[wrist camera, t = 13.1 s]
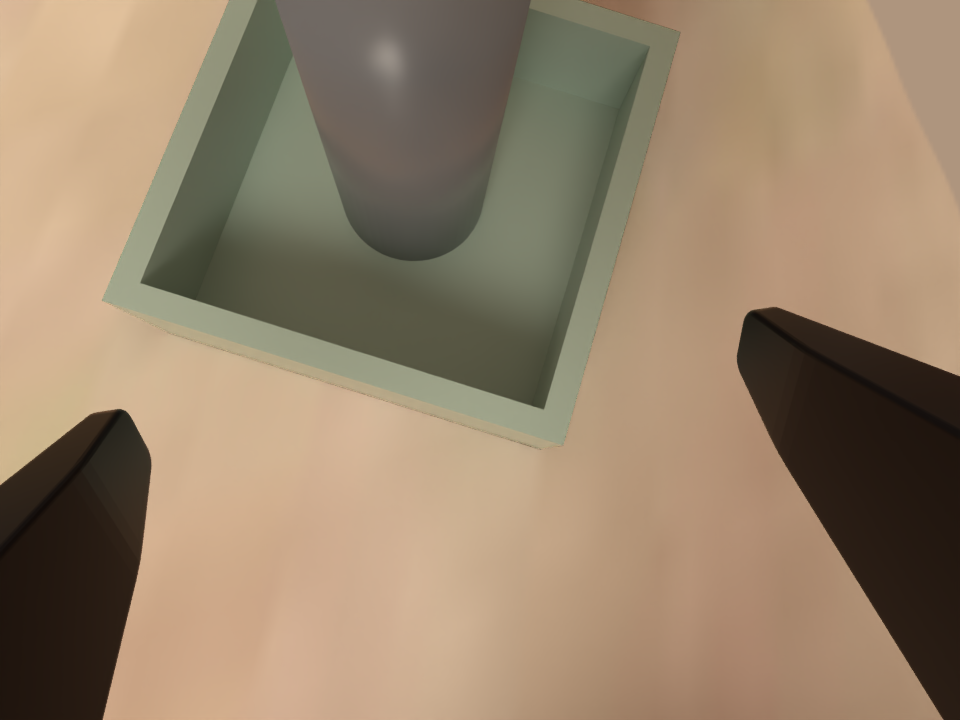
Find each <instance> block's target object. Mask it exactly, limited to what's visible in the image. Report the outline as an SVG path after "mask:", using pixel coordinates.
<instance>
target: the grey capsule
mask: <svg viewBox="0 0 960 720" xmlns="http://www.w3.org/2000/svg"><path fill="white" fill-rule="evenodd" d="M275 2H276V5H277V8H278V11H279V14H280V17H281V20H282V23H283V26H284V29H285V32H286V35H287V38H288V41H289V44H290V47H291V50H292V53H293V56H294V59H295V62H296V66H297V69H298V72H299V75H300V78H301V81H302V84H303V87H304V90H305V93H306V96H307V99H308V102H309V105H310V108H311V111H312V114H313V117H314V120H315V123H316V126H317V129H318V132H319V135H320V138H321V141H322V144H323V147H324V150H325V153H326V156H327V159H328V162H329V165H330V168H331V171H332V174H333V177H334V180H335V183H336V186H337V189H338V192H339V195H340V198H341V201H342V204H343V207H344V210H345V213H346V216H347V218H348V221H349V223H350V225H351V226H352V228H353V229H354V231H355V232H356V233H357V235H358V236H359V237H360V238H361V239H362V240H363V241H364V242H365V243H366V244H367V245H369V246H370V247H371V248H373V249H374V250H376V251H378V252H380V253H381V254H383V255H386V256H389V257H391V258H395V259H399V260H405V261H423V260H430V259H433V258H437V257H440V256H442V255H445V254H447V253H449V252H450V251H452V250H454V249H455V248H457V247H458V246H459V245H460V244H462V243H463V242H464V241H465V240H466V239H467V238H468V237H469V235H470V234H471V232H472V231H473V230H474V228H475V226H476V224H477V223H478V220H479V218H480V215H481V211H482V207H483V203H484V199H485V194H486V190H487V186H488V182H489V177H490V173H491V169H492V164H493V160H494V156H495V152H496V147H497V143H498V139H499V135H500V130H501V126H502V122H503V118H504V113H505V109H506V105H507V100H508V96H509V92H510V88H511V83H512V79H513V75H514V71H515V66H516V62H517V58H518V53H519V49H520V45H521V41H522V36H523V32H524V28H525V24H526V19H527V15H528V11H529V6H530V2H531V0H275Z"/></svg>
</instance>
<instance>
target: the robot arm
mask: <svg viewBox="0 0 960 720" xmlns="http://www.w3.org/2000/svg"><path fill="white" fill-rule="evenodd" d="M737 364H738V368H739V371H740V374H741V376H742V378H743V380H744V382H745V384H746V387H747V389H748V391H749V393H750V395H751V397H752V399H753V401H754V404H755V406H756V408H757V410H758V412H759V414H760V416H761V418H762V421H763V423H764V425H765V427H766V429H767V431H768V433H769V436H770V438H771V440H772V442H773V444H774V446H775V448H776V449H777V451H778V453H779V455H780V457H781V458H782V460H783V462H784V463H785V465H786V467H787V468H788V470H789V472H790V473H791V475H792V476H793V478H794V480H795V481H796V483H797V484H798V486H799V488H800V489H801V491H802V493H803V494H804V496H805V497H806V499H807V501H808V502H809V504H810V505H811V507H812V509H813V510H814V512H815V514H816V515H817V517H818V518H819V520H820V522H821V523H822V525H823V526H824V528H825V530H826V531H827V533H828V534H829V536H830V538H831V539H832V541H833V543H834V544H835V546H836V547H837V549H838V551H839V552H840V554H841V555H842V557H843V559H844V560H845V562H846V564H847V565H848V567H849V568H850V570H851V572H852V573H853V575H854V576H855V578H856V580H857V581H858V583H859V584H860V586H861V588H862V589H863V591H864V593H865V594H866V596H867V597H868V599H869V601H870V602H871V604H872V605H873V607H874V609H875V610H876V612H877V614H878V615H879V617H880V618H881V620H882V622H883V623H884V625H885V626H886V628H887V630H888V631H889V633H890V634H891V636H892V638H893V639H894V641H895V643H896V644H897V646H898V647H899V649H900V651H901V652H902V654H903V655H904V657H905V659H906V660H907V662H908V663H909V665H910V667H911V668H912V670H913V672H914V673H915V675H916V676H917V678H918V680H919V681H920V683H921V684H922V686H923V688H924V689H925V691H926V693H927V694H928V696H929V697H930V699H931V701H932V702H933V704H934V705H935V707H936V709H937V710H938V712H939V713H940V715H941V717H942V718H943V720H960V376H957V375H955V374H952V373H949V372H947V371H944V370H941V369H939V368H936V367H934V366H931V365H928V364H926V363H923V362H920V361H918V360H915V359H912V358H910V357H907V356H905V355H902V354H899V353H897V352H894V351H891V350H889V349H886V348H883V347H881V346H878V345H876V344H873V343H870V342H868V341H865V340H862V339H860V338H857V337H854V336H852V335H849V334H846V333H844V332H841V331H839V330H836V329H833V328H831V327H828V326H825V325H823V324H820V323H817V322H815V321H812V320H810V319H807V318H804V317H802V316H799V315H796V314H794V313H791V312H788V311H786V310H783V309H780V308H777V307H770V308H763V309H757V310H752V311H750V312H748V313H747V315H746V316H745V319H744V322H743V327H742V332H741V337H740V343H739V348H738V353H737ZM150 475H151V457H150V453H149V450H148V448H147V446H146V444H145V443H144V441H143V439H142V437H141V435H140V433H139V431H138V429H137V427H136V426H135V424H134V422H133V420H132V418H131V416H130V415H129V414H128V413H127V412H126V411H124V410H122V409H115V410H109V411H102V412H96V413H93V414H90V415H89V416H88V417H86V418H85V419H84V420H83V421H81V422H80V423H79V424H77V425H76V426H75V427H74V428H72V429H71V430H70V431H69V432H67V433H66V434H65V435H63V436H62V437H61V438H60V439H58V440H57V441H56V442H55V443H53V444H52V445H51V446H49V447H48V448H47V449H46V450H44V451H43V452H42V453H41V454H39V455H38V456H37V457H35V458H34V459H33V460H32V461H30V462H29V463H28V464H27V465H25V466H24V467H23V468H21V469H20V470H19V471H18V472H16V473H15V474H14V475H13V476H11V477H10V478H9V479H7V480H6V481H5V482H4V483H2V484H1V485H0V720H103V716H104V712H105V708H106V704H107V699H108V695H109V691H110V687H111V683H112V679H113V675H114V670H115V666H116V662H117V658H118V654H119V650H120V646H121V641H122V637H123V633H124V629H125V625H126V621H127V617H128V612H129V608H130V604H131V600H132V596H133V592H134V588H135V583H136V579H137V575H138V570H139V565H140V560H141V553H142V546H143V537H144V528H145V519H146V511H147V502H148V493H149V484H150Z"/></svg>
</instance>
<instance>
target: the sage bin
mask: <svg viewBox="0 0 960 720" xmlns="http://www.w3.org/2000/svg"><path fill="white" fill-rule="evenodd" d="M679 36H680V32H679V31H676V30H672V29H669V28H666V27H663V26H660V25H656V24H653V23H650V22H647V21H644V20H641V19H637V18H634V17H631V16H628V15H625V14H622V13H618V12H615V11H612V10H609V9H606V8H603V7H599V6H596V5H593V4H590V3H587V2H584V1H580V0H531V2H530V6H529V11H528V15H527V19H526V24H525V28H524V32H523V36H522V41H521V45H520V49H519V53H518V58H517V62H516V66H515V71H514V75H513V79H512V83H511V88H510V92H509V96H508V100H507V105H506V109H505V113H504V118H503V122H502V126H501V130H500V135H499V139H498V143H497V147H496V152H495V156H494V160H493V164H492V169H491V173H490V177H489V182H488V186H487V190H486V194H485V199H484V203H483V207H482V211H481V215H480V218H479V220H478V223H477V224H476V226H475V228H474V230H473V231H472V232H471V234H470V235H469V237H468V238H467V239H466V240H465V241H464V242H463V243H462V244H460V245H459V246H458V247H457V248H455V249H454V250H452V251H450V252H449V253H447V254H445V255H442V256H440V257H437V258H433V259H430V260H423V261H405V260H399V259H395V258H391V257H389V256H386V255H383V254H381V253H380V252H378V251H376V250H374V249H373V248H371V247H370V246H369V245H367V244H366V243H365V242H364V241H363V240H362V239H361V238H360V237H359V236H358V235H357V233H356V232H355V231H354V229H353V228H352V226H351V225H350V223H349V221H348V218H347V216H346V213H345V210H344V207H343V204H342V201H341V198H340V195H339V192H338V189H337V186H336V183H335V180H334V177H333V174H332V171H331V168H330V165H329V162H328V159H327V156H326V153H325V150H324V147H323V144H322V141H321V138H320V135H319V132H318V129H317V126H316V123H315V120H314V117H313V114H312V111H311V108H310V105H309V102H308V99H307V96H306V93H305V90H304V87H303V84H302V81H301V78H300V75H299V72H298V69H297V66H296V62H295V59H294V56H293V53H292V50H291V47H290V44H289V41H288V38H287V35H286V32H285V29H284V26H283V23H282V20H281V17H280V14H279V11H278V8H277V5H276V2H275V0H229V2H228V4H227V7H226V9H225V12H224V14H223V16H222V19H221V21H220V23H219V26H218V28H217V30H216V33H215V35H214V37H213V40H212V42H211V45H210V47H209V49H208V52H207V54H206V56H205V59H204V61H203V63H202V66H201V68H200V70H199V73H198V75H197V78H196V80H195V82H194V85H193V87H192V89H191V92H190V94H189V96H188V99H187V101H186V103H185V106H184V108H183V111H182V113H181V115H180V118H179V120H178V122H177V125H176V127H175V129H174V132H173V134H172V136H171V139H170V141H169V144H168V146H167V148H166V151H165V153H164V155H163V158H162V160H161V162H160V165H159V167H158V169H157V172H156V174H155V177H154V179H153V181H152V184H151V186H150V188H149V191H148V193H147V195H146V198H145V200H144V202H143V205H142V207H141V210H140V212H139V214H138V217H137V219H136V221H135V224H134V226H133V228H132V231H131V233H130V235H129V238H128V240H127V242H126V245H125V247H124V250H123V252H122V254H121V257H120V259H119V261H118V264H117V266H116V268H115V271H114V273H113V275H112V278H111V280H110V283H109V285H108V287H107V290H106V292H105V294H104V297H103V299H102V301H104V302H106V303H108V304H110V305H112V306H114V307H116V308H118V309H120V310H122V311H124V312H126V313H128V314H130V315H133V316H135V317H137V318H139V319H141V320H143V321H145V322H147V323H149V324H151V325H153V326H155V327H157V328H159V329H161V330H164V331H166V332H168V333H170V334H174V335H177V336H180V337H183V338H186V339H190V340H193V341H196V342H199V343H202V344H205V345H209V346H212V347H215V348H218V349H221V350H225V351H228V352H231V353H234V354H237V355H241V356H244V357H247V358H250V359H253V360H256V361H260V362H263V363H266V364H269V365H272V366H276V367H279V368H282V369H285V370H288V371H292V372H295V373H298V374H301V375H304V376H308V377H311V378H314V379H317V380H320V381H323V382H327V383H330V384H333V385H336V386H339V387H343V388H346V389H349V390H352V391H355V392H359V393H362V394H365V395H368V396H371V397H374V398H378V399H381V400H384V401H387V402H390V403H394V404H397V405H400V406H403V407H406V408H410V409H413V410H416V411H419V412H422V413H425V414H429V415H432V416H435V417H438V418H441V419H445V420H448V421H451V422H454V423H457V424H461V425H464V426H467V427H470V428H473V429H476V430H480V431H483V432H486V433H489V434H492V435H496V436H499V437H502V438H505V439H508V440H512V441H515V442H518V443H521V444H524V445H527V446H531V447H534V448H537V449H546V448H552V447H557V446H563V444H564V441H565V437H566V434H567V430H568V427H569V423H570V420H571V416H572V413H573V409H574V406H575V402H576V399H577V395H578V392H579V388H580V385H581V381H582V377H583V374H584V370H585V367H586V363H587V360H588V356H589V353H590V349H591V346H592V342H593V339H594V335H595V332H596V328H597V325H598V321H599V318H600V314H601V311H602V307H603V304H604V300H605V296H606V293H607V289H608V286H609V282H610V279H611V275H612V272H613V268H614V265H615V261H616V258H617V254H618V251H619V247H620V244H621V240H622V237H623V233H624V230H625V226H626V223H627V219H628V215H629V212H630V208H631V205H632V201H633V198H634V194H635V191H636V187H637V184H638V180H639V177H640V173H641V170H642V166H643V163H644V159H645V156H646V152H647V149H648V145H649V142H650V138H651V134H652V131H653V127H654V124H655V120H656V117H657V113H658V110H659V106H660V103H661V99H662V96H663V92H664V89H665V85H666V82H667V78H668V75H669V71H670V68H671V64H672V61H673V57H674V54H675V50H676V46H677V43H678V39H679Z"/></svg>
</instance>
